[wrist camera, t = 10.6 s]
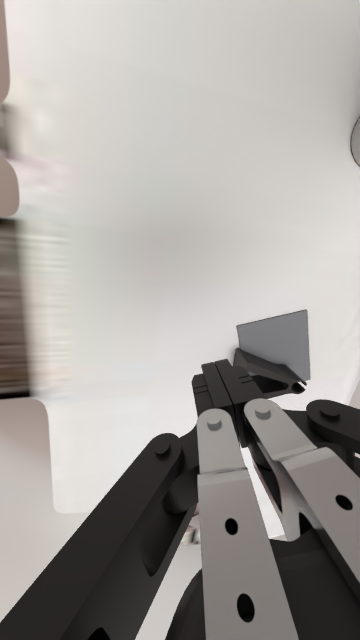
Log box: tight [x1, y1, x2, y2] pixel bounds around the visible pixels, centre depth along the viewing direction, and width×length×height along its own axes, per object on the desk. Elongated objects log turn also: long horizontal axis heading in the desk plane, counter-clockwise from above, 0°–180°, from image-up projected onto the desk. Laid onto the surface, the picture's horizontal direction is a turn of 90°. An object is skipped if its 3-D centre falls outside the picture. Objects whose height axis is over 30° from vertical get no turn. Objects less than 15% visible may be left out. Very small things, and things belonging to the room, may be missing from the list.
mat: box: [237, 310, 310, 382], centre depth 41 cm, size 14×16×1 cm
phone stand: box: [234, 349, 307, 399], centre depth 39 cm, size 9×6×12 cm
